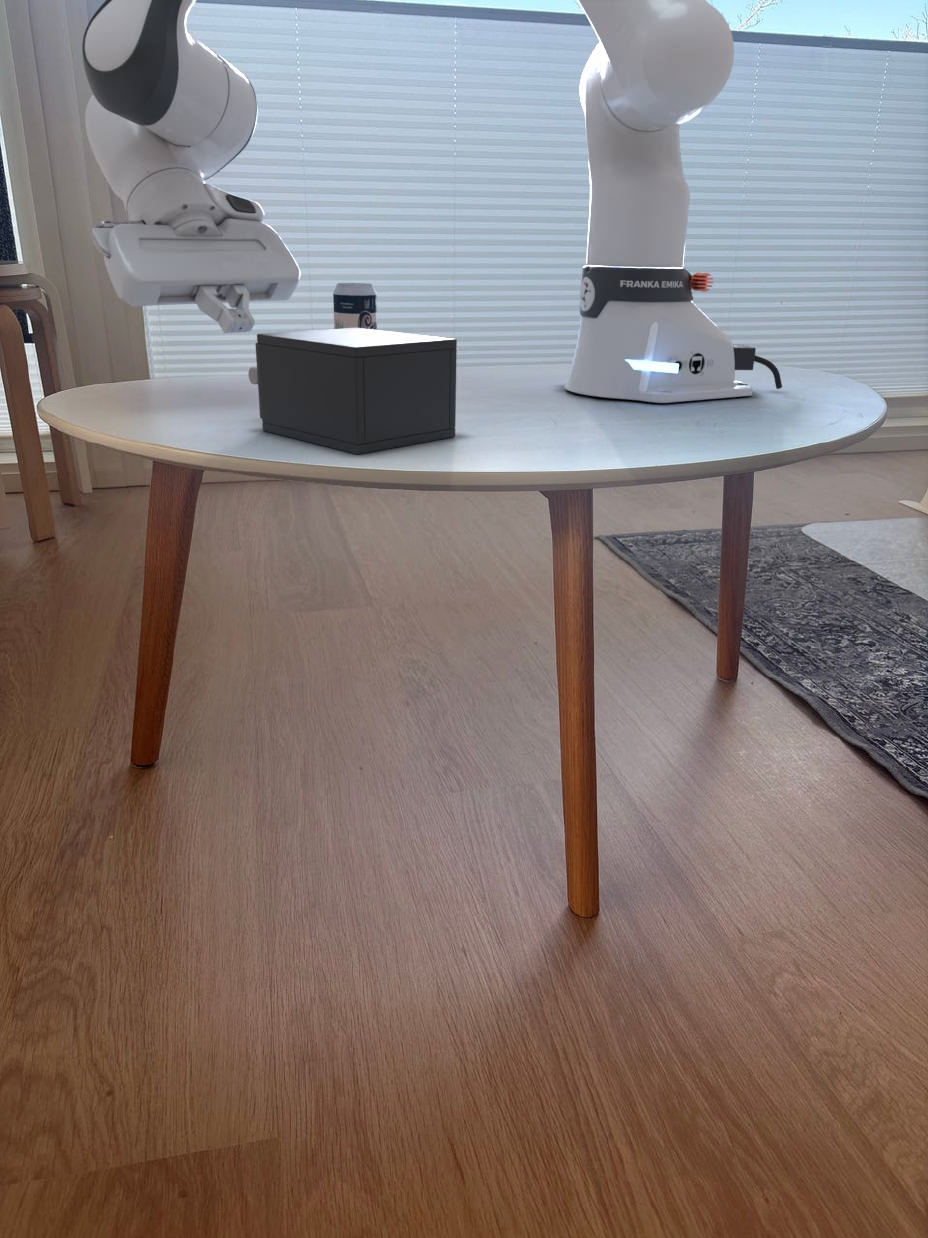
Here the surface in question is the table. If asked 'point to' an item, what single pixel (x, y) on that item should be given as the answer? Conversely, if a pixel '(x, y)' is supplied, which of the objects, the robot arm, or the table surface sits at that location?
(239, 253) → the robot arm
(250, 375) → the drawer
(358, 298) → the beer can
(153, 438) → the table surface
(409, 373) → the dark grey storage box
